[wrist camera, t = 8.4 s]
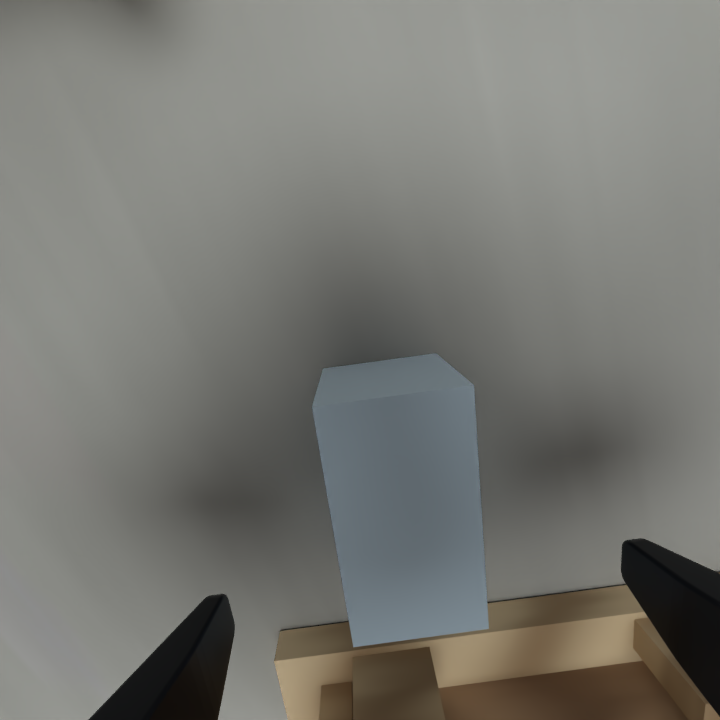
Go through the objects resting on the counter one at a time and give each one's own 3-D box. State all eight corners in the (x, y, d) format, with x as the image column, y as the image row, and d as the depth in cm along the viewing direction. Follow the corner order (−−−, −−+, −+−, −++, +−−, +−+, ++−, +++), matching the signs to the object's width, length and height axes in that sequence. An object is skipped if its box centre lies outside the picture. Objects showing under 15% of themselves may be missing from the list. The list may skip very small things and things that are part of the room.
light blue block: (435, 352, 13) (473, 384, 9) (450, 533, 14) (489, 628, 10) (323, 367, 13) (311, 407, 9) (352, 546, 14) (353, 647, 10)
